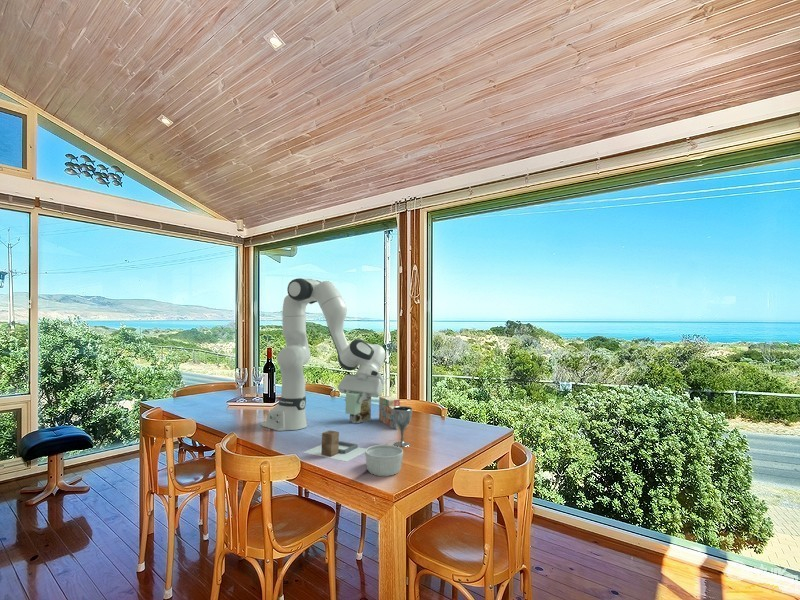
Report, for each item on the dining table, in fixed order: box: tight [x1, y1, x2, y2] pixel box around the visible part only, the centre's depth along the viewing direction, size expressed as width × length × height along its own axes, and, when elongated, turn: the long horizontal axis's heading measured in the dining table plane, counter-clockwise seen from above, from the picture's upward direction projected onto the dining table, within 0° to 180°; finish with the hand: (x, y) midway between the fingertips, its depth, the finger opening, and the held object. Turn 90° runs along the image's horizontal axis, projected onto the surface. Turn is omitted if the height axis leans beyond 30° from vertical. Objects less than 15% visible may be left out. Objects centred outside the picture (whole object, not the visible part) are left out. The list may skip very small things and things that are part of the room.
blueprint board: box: [302, 440, 367, 462], centre depth 156 cm, size 20×16×2 cm
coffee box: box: [349, 396, 372, 424], centre depth 209 cm, size 9×6×16 cm
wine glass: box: [393, 405, 413, 448], centre depth 171 cm, size 8×8×15 cm
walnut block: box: [321, 429, 340, 457], centre depth 153 cm, size 4×4×8 cm
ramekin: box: [364, 444, 404, 477], centre depth 140 cm, size 13×13×7 cm
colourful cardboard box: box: [378, 395, 408, 430], centre depth 205 cm, size 21×6×12 cm, turn 25°
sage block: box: [345, 392, 361, 415], centre depth 171 cm, size 4×4×8 cm
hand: (352, 402), depth 170 cm, fingers closed on sage block, 4 cm apart
